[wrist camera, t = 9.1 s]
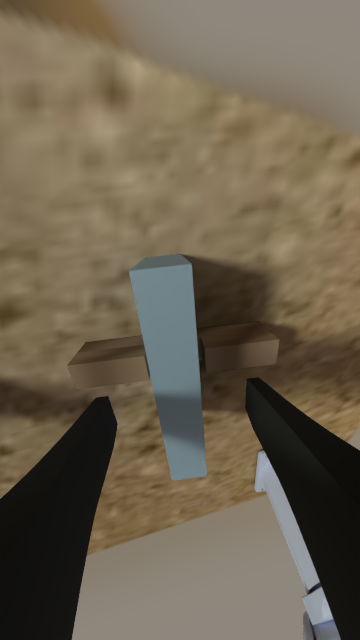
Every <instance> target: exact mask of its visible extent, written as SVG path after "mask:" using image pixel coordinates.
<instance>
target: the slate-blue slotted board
mask: <svg viewBox="0 0 360 640" xmlns="http://www.w3.org/2000/svg"><path fill="white" fill-rule="evenodd" d="M129 273H130V278H131V283H132V288H133V293H134V298H135V303H136V307H137V312H138V317H139V322H140V327H141V332H142V337H143V342H144V346H145V351H146V356H147V361H148V366H149V371H150V376H151V381H152V385H153V390H154V395H155V400H156V405H157V410H158V415H159V420H160V424H161V429H162V434H163V439H164V444H165V449H166V454H167V459H168V464H169V468H170V473H171V478H172V481H174V480H181V479H188V478H195V477H203V476H207V469H206V455H205V441H204V428H203V414H202V400H201V386H200V372H199V358H198V344H197V331H196V317H195V303H194V289H193V275H192V264H191V263H190V262H189V261H188V260H187V259H186V258H184V257H183V256H182V255H181V254H177V255H168V256H159V257H150V258H145V259H143V260H142V261H141V262H140V263H138V264H137V265H136V266H135V267H133V268H132V269H131V270H130V271H129Z"/></svg>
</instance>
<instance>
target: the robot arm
mask: <svg viewBox="0 0 360 640" xmlns="http://www.w3.org/2000/svg"><path fill="white" fill-rule="evenodd" d="M245 408H246V411H247V414H248V416H249V419H250V422H251V424H252V427H253V429H254V431H255V433H256V435H257V437H258V439H259V441H260V443H261V445H262V447H263V449H264V450H263V451H260V452H259V453H258V460H257V469H256V478H255V490H256V492H263V491H266V492H267V494H268V497H269V499H270V502H271V504H272V507H273V509H274V512H275V514H276V517H277V519H278V522H279V524H280V527H281V529H282V532H283V534H284V537H285V539H286V542H287V545H288V547H289V549H290V552H291V555H292V557H293V560H294V562H295V565H296V567H297V569H298V572H299V575H300V577H301V580H302V582H303V585H304V587H305V590H306V592H307V594H308V595H306V596H303V597H302V599H303V602H304V604H305V607H306V610H307V611H306V612H305V613H304V615H303V639H304V640H360V450H358V449H356V448H355V447H353V446H352V445H350V444H348V443H347V442H345V441H344V440H342V439H340V438H339V437H337V436H336V435H334V434H333V433H331V432H330V431H328V430H327V429H325V428H324V427H322V426H321V425H319V424H318V423H317V422H315V421H314V420H312V419H311V418H310V417H308V416H307V415H305V414H304V413H303V412H301V411H300V410H299V409H297V408H296V407H295V406H294V405H292V404H291V403H290V402H288V401H287V400H286V399H285V398H283V397H282V396H281V395H280V394H278V393H277V392H276V391H275V390H273V389H272V388H271V387H270V386H269V385H267V384H266V383H265V382H264V381H262V380H261V379H260V378H259V377H257V378H249V379H247V385H246V404H245ZM116 431H117V421H116V418H115V415H114V412H113V409H112V406H111V403H110V400H109V397H108V396H106V397H98V398H96V399H95V400H94V401H93V402H92V403H91V404H90V405H89V407H88V408H87V409H86V410H85V411H84V412H83V414H82V415H81V416H80V417H79V418H78V419H77V421H76V422H75V423H74V424H73V425H72V426H71V428H70V429H69V430H68V431H67V432H66V433H65V434H64V435H63V437H62V438H61V439H60V440H59V441H58V442H57V443H56V444H55V445H54V446H53V447H52V448H51V450H50V451H49V452H48V453H47V454H46V455H45V456H44V457H43V458H42V459H41V460H40V461H39V462H38V463H37V464H36V465H35V466H34V467H33V468H32V469H31V470H30V471H29V472H28V473H27V474H26V475H25V476H24V477H23V478H22V479H21V480H20V481H19V482H18V483H17V484H16V485H15V486H14V487H13V488H12V489H11V490H10V491H9V492H8V493H6V494H5V495H4V496H3V497H2V498H1V499H0V640H72V633H73V628H74V622H75V616H76V611H77V605H78V599H79V593H80V587H81V582H82V576H83V571H84V566H85V561H86V555H87V550H88V545H89V540H90V535H91V531H92V526H93V521H94V516H95V512H96V508H97V504H98V501H99V497H100V494H101V490H102V487H103V483H104V480H105V476H106V473H107V469H108V466H109V462H110V458H111V455H112V451H113V447H114V442H115V437H116Z"/></svg>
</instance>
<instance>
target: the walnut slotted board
mask: <svg viewBox="0 0 360 640" xmlns="http://www.w3.org/2000/svg"><path fill="white" fill-rule="evenodd" d="M196 331H197V344H198V358H199V361H201V360H202V361H203V364H204V367H205V371H206V373H210V372H218V371H226V370H234V369H242V368H250V367H258V366H266V365H274V364H276V363H277V355H278V347H279V340H280V339H278V338H277V337H276V336H275V335H274V334H273V333H271V332H270V331H269V330H268V329H267V328H266V327H265V326H263V325H262V324H261V323H260V322H259V321H258V322H250V323H242V324H234V325H225V326H217V327H209V328H200V329H196ZM67 367H68V369H69V372H70V374H71V376H72V379H73V381H74V384H75V386H76V388H77V389H83V388H91V387H99V386H107V385H115V384H123V383H131V382H139V381H147V380H149V378H150V371H149V366H148V361H147V356H146V351H145V346H144V342H143V337H142V336H134V337H126V338H117V339H109V340H101V341H93V342H85V344H84V345H83V346H82V347H81V349H80V350H79V351H78V352H77V354H76V355H75V356H74V357H73V359H72V360H71V361H70V362H69V364H68V365H67Z"/></svg>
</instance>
